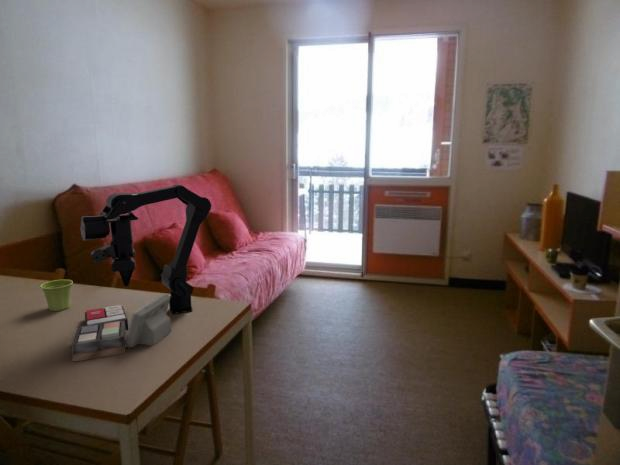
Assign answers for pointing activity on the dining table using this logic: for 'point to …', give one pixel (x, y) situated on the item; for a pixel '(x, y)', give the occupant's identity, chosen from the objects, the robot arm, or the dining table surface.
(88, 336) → the key cream
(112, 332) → the key sage
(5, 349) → the dining table surface
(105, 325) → the key terracotta
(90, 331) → the key slate
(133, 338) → the digital clock
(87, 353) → the keypad
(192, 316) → the dining table surface
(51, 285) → the plant pot
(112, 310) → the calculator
